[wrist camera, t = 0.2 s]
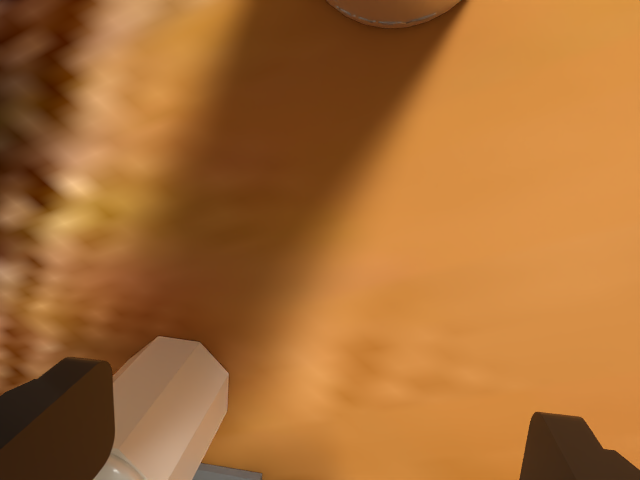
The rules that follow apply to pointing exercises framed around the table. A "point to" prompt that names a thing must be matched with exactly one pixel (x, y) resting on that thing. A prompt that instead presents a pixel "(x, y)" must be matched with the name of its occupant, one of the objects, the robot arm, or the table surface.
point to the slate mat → (224, 473)
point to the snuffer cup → (165, 411)
